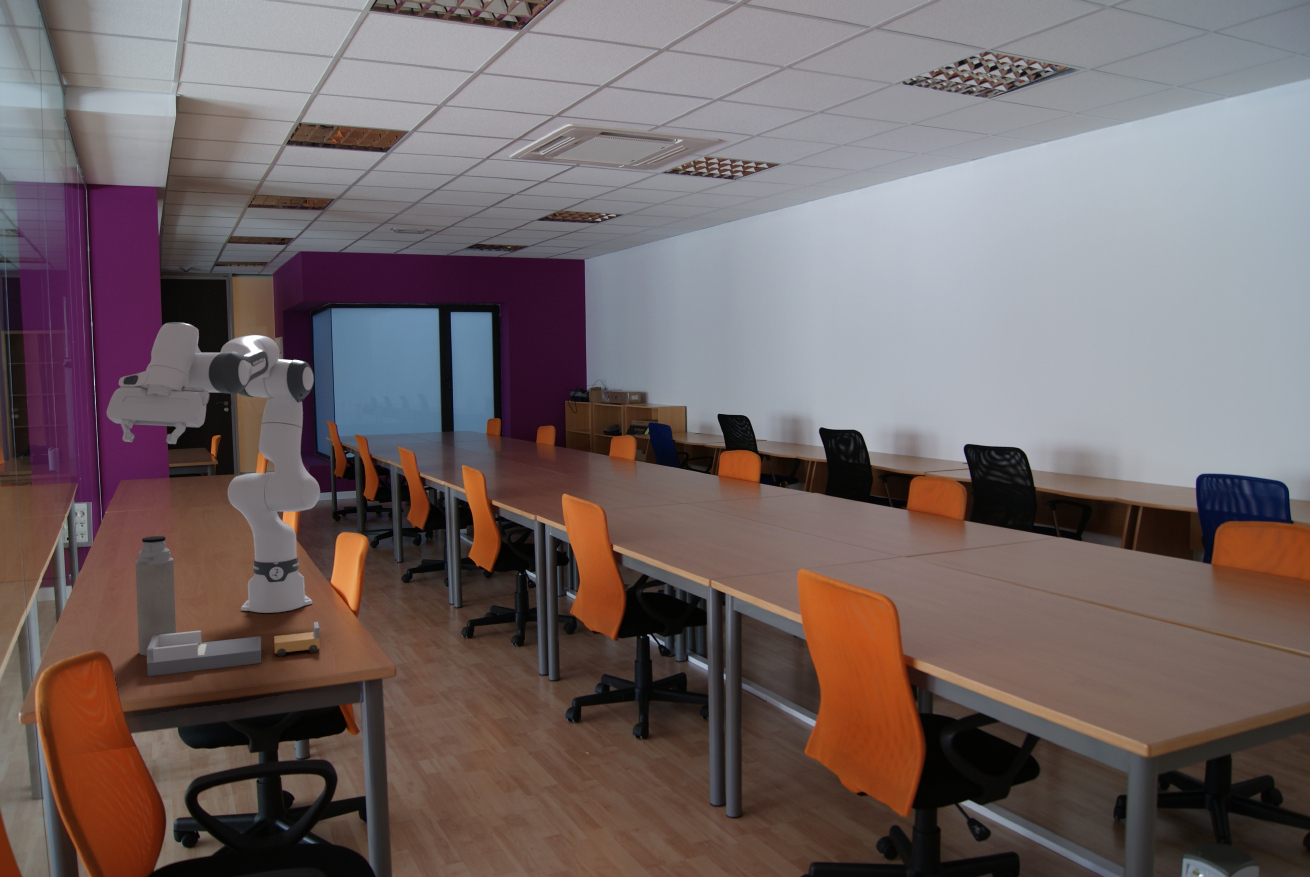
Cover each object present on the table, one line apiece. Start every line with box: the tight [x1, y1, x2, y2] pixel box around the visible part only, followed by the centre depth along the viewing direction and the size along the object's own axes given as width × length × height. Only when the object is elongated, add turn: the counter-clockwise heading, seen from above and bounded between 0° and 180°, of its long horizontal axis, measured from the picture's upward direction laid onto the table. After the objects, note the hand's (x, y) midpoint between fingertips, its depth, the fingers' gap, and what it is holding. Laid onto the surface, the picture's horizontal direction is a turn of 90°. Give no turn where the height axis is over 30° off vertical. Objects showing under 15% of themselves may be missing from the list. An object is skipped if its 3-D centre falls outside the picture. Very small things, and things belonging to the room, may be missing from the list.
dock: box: [146, 630, 262, 677], centre depth 203 cm, size 12×23×6 cm, turn 114°
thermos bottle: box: [135, 535, 177, 657], centre depth 210 cm, size 8×8×28 cm
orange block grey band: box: [273, 621, 321, 658], centre depth 211 cm, size 6×10×6 cm, turn 114°
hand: (149, 442), depth 192 cm, fingers open, 8 cm apart
